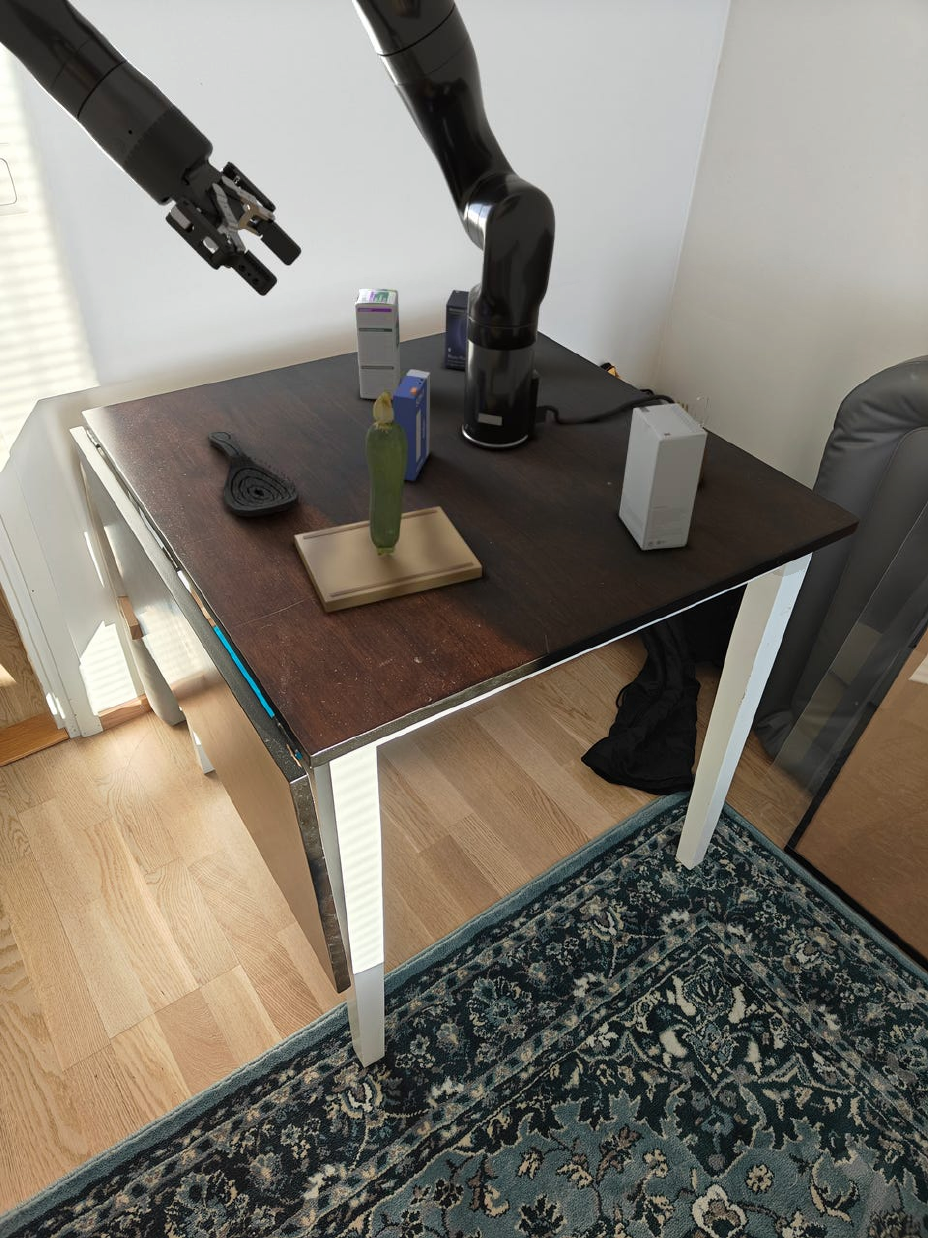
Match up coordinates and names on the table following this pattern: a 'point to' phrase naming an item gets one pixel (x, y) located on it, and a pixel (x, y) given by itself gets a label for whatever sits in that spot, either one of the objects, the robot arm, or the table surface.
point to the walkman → (414, 418)
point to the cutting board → (385, 560)
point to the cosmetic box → (661, 475)
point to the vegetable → (386, 475)
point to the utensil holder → (706, 438)
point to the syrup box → (378, 342)
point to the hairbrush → (251, 481)
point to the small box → (456, 330)
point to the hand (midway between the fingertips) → (284, 273)
